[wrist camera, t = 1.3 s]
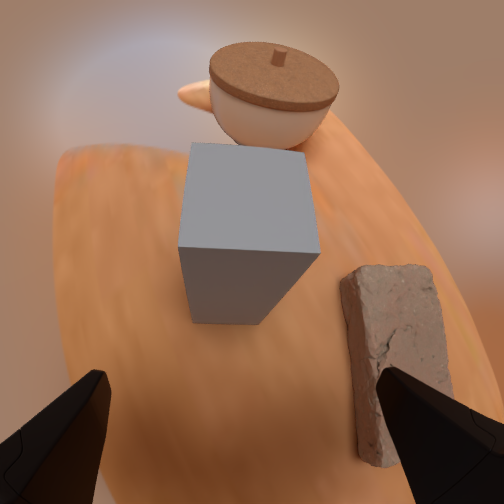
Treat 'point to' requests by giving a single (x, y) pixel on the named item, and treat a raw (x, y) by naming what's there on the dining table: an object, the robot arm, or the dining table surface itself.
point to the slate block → (244, 230)
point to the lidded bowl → (269, 93)
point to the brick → (391, 343)
